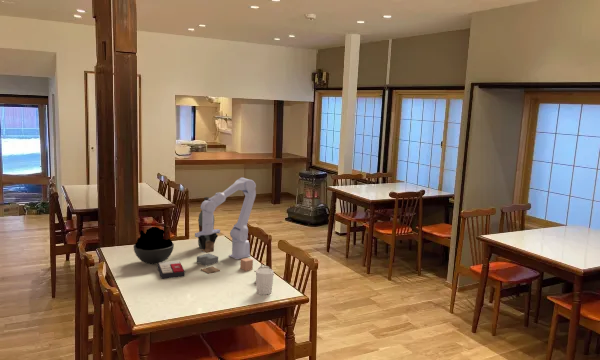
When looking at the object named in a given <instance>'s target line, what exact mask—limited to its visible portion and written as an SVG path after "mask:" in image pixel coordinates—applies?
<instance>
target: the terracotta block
mask: <svg viewBox="0 0 600 360" xmlns="http://www.w3.org/2000/svg"><path fill="white" fill-rule="evenodd" d="M253 266H254V259H252V258H249V257H245V258H240V268H239V269H240V270H242V269H243V270H242V271H244V272H246V271H251V270H253Z"/></svg>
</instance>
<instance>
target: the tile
mask: <svg viewBox="0 0 600 360" xmlns="http://www.w3.org/2000/svg"><path fill="white" fill-rule="evenodd" d="M200 271H201V272H204V273H206V274H213V273H218V272H220V271H221V269H219V268H217V267H215V266H213V265H212V266H208V267H204V268H203V267H202V268H200Z"/></svg>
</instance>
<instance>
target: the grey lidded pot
mask: <svg viewBox="0 0 600 360" xmlns="http://www.w3.org/2000/svg"><path fill="white" fill-rule="evenodd" d="M260 268H269V269H271V265H269V266H268V265H263V264H262V263H260V266H259V267H258V269H260ZM254 272H255V273H256V270H254ZM274 275H275V274H274V273H273V276H274Z"/></svg>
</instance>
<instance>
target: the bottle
mask: <svg viewBox="0 0 600 360" xmlns="http://www.w3.org/2000/svg"><path fill="white" fill-rule="evenodd" d="M209 198H210V197H207V196H206V197H204V198H203V200H204V201H205V200H208V199H209ZM197 218H198V221H197V222H198V230H199V231H198V232H201V231H202V210H201V211H200V212H199V214H198V217H197ZM214 228H215V215H214V213H213V230H215V229H214ZM205 237H206V241H210V238H209V235H205ZM197 239H198V238H197ZM197 244H198V248H199V249H200V250H202V247H201V243H200V241H199V239H198V240H197Z"/></svg>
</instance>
